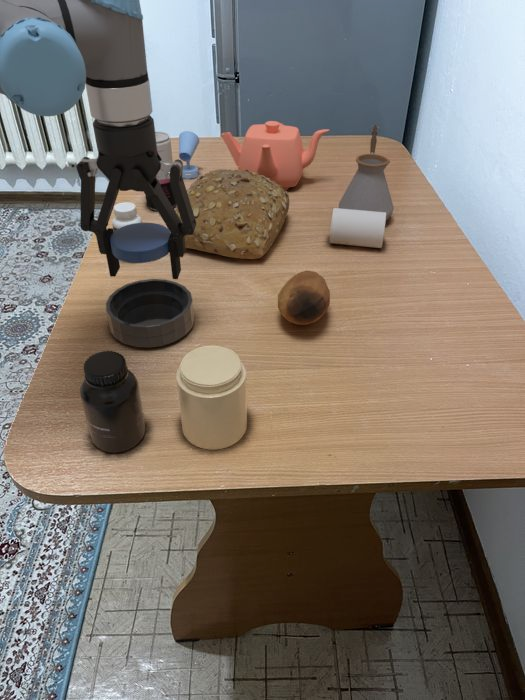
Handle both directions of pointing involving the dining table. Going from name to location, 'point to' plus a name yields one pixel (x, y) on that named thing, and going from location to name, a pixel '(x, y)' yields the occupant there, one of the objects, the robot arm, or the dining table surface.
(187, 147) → the spotlight
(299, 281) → the potato
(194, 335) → the dining table surface
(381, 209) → the coffee pot
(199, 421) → the jar
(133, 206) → the pill bottle
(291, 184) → the teapot
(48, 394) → the dining table surface
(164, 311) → the bowl
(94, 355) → the supplement bottle
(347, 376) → the dining table surface
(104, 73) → the robot arm
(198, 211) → the bread
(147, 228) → the jar lid
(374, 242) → the cup
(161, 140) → the beverage can
